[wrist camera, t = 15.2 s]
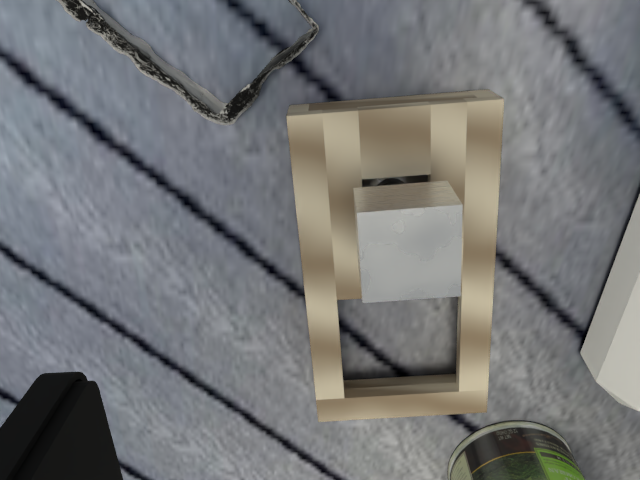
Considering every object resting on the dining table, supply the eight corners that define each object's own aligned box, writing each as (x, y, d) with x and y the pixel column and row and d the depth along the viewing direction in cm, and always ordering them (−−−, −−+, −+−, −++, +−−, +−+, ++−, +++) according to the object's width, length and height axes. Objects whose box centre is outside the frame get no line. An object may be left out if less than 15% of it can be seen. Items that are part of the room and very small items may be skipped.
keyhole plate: (475, 383, 42) (486, 412, 40) (318, 392, 43) (318, 421, 40) (488, 89, 33) (504, 99, 30) (289, 105, 34) (286, 116, 31)
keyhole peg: (436, 229, 37) (470, 304, 28) (346, 236, 37) (353, 312, 29) (435, 141, 35) (473, 193, 26) (340, 149, 35) (345, 203, 26)
